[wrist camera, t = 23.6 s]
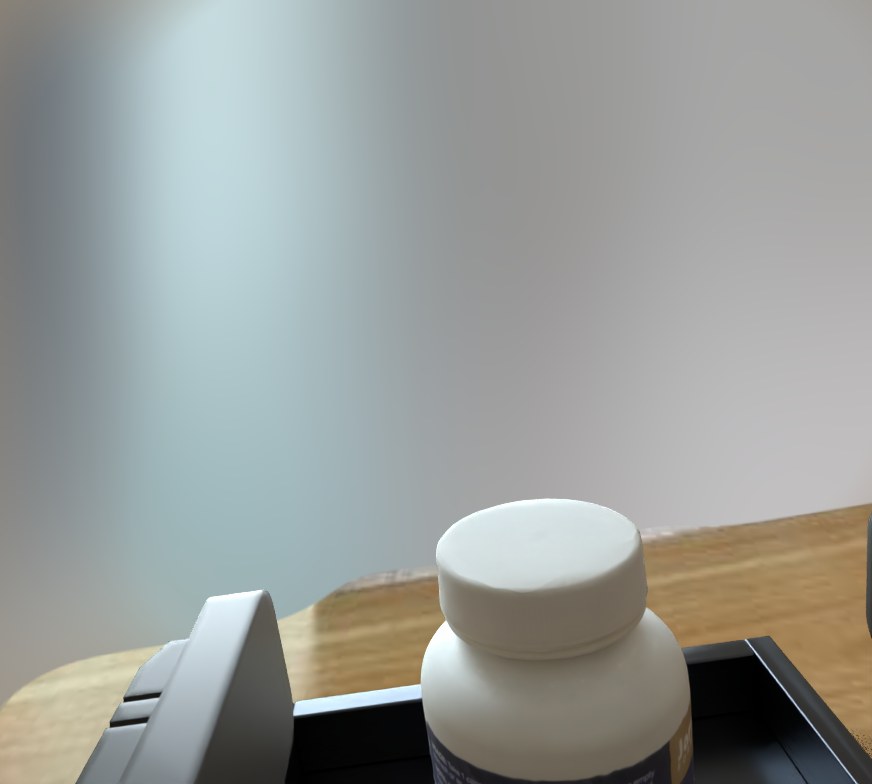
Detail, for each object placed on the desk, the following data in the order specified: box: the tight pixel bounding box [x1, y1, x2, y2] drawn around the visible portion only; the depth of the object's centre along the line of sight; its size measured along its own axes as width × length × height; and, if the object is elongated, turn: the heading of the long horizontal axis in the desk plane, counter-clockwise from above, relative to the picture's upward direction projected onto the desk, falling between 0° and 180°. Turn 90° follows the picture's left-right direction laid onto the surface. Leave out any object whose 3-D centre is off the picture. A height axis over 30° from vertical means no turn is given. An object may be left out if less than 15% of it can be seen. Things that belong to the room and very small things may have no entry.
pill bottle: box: [421, 499, 695, 784], centre depth 16 cm, size 5×5×10 cm
